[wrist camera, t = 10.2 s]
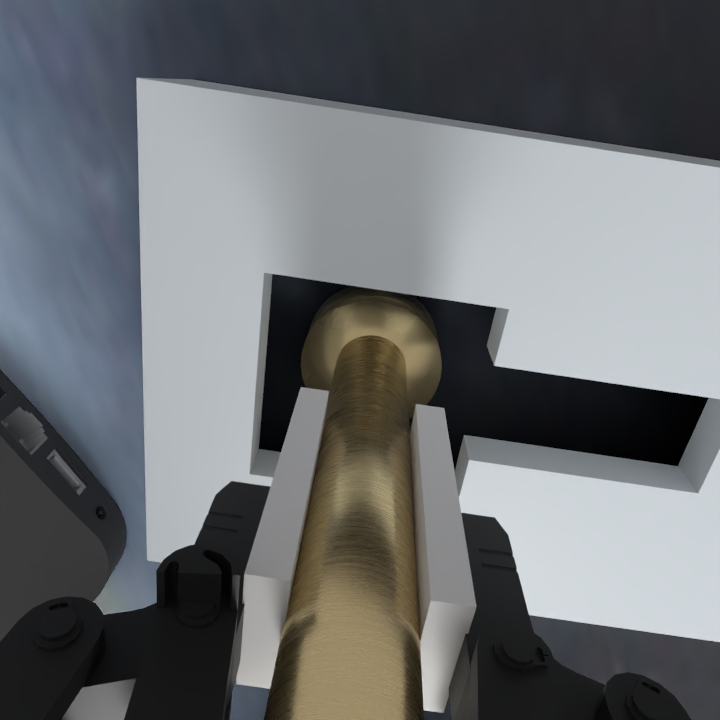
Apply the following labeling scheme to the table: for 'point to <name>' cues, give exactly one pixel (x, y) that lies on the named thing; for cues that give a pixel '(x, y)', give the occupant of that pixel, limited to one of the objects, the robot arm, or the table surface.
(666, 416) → the table surface
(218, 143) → the keyhole plate
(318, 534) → the brass peg
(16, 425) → the media streaming box
